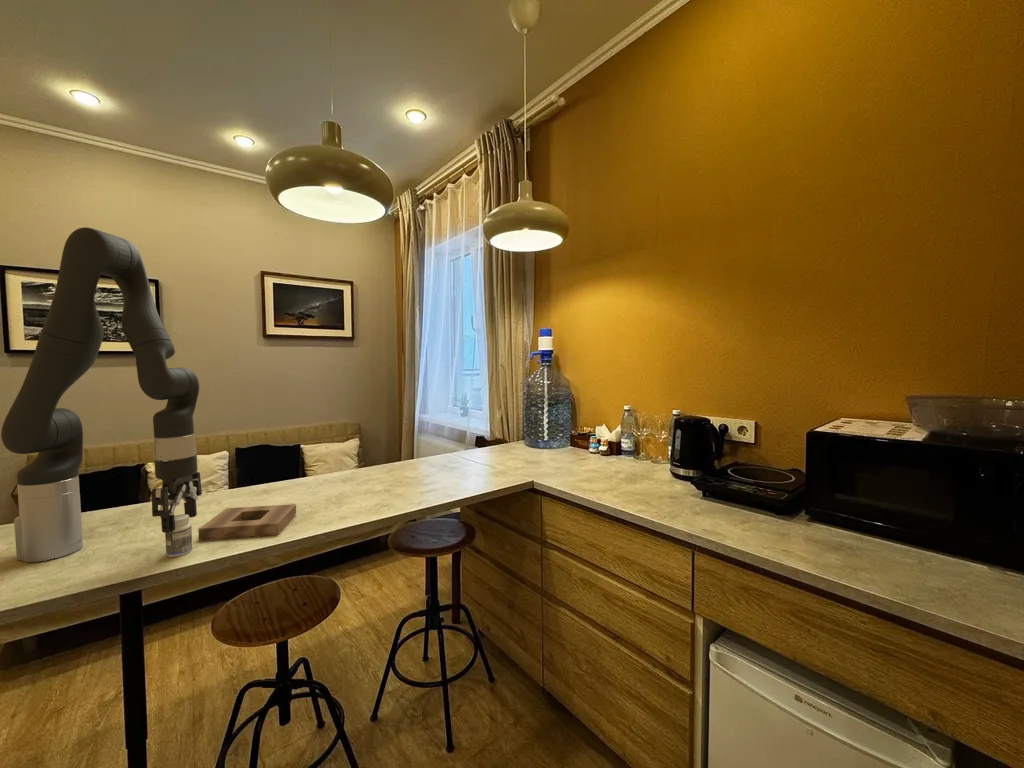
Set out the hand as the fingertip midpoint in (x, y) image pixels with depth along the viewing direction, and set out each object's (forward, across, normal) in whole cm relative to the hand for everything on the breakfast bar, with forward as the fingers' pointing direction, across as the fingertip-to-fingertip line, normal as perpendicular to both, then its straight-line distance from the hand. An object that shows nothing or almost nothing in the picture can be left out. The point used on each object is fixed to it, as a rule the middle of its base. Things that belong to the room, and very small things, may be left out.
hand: (180, 524), depth 93 cm
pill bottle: (+7, 0, -1) cm, 7 cm away
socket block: (+7, -13, +10) cm, 18 cm away
